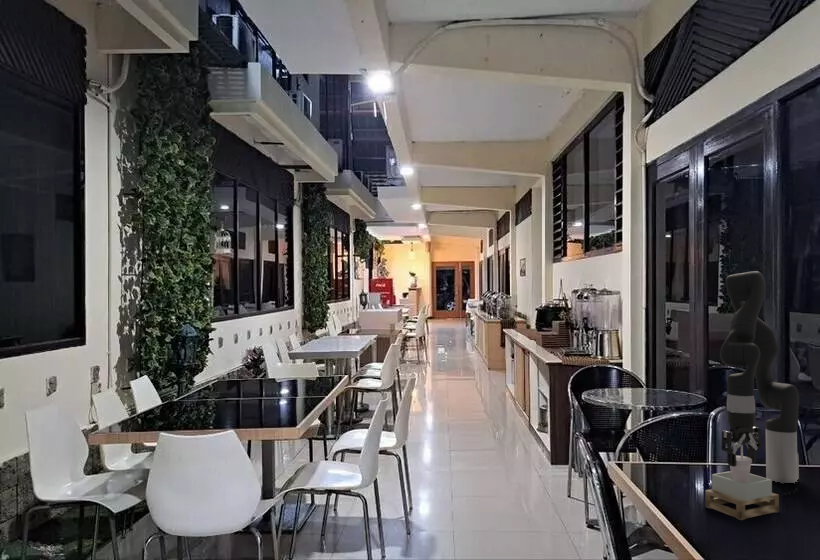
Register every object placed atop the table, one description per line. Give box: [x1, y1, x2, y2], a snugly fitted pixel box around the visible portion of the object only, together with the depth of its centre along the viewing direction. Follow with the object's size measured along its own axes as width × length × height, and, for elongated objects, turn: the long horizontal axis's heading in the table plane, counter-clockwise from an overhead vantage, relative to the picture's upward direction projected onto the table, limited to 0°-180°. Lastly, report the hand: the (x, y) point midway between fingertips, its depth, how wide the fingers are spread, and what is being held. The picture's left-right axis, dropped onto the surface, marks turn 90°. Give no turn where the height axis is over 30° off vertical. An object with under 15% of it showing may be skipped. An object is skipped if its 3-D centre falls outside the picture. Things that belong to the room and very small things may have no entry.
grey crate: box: [711, 470, 773, 501], centre depth 185 cm, size 11×11×5 cm
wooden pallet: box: [704, 488, 780, 521], centre depth 185 cm, size 16×12×5 cm
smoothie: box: [729, 444, 753, 484], centre depth 185 cm, size 6×6×14 cm
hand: (741, 464), depth 185 cm, fingers open, 8 cm apart
